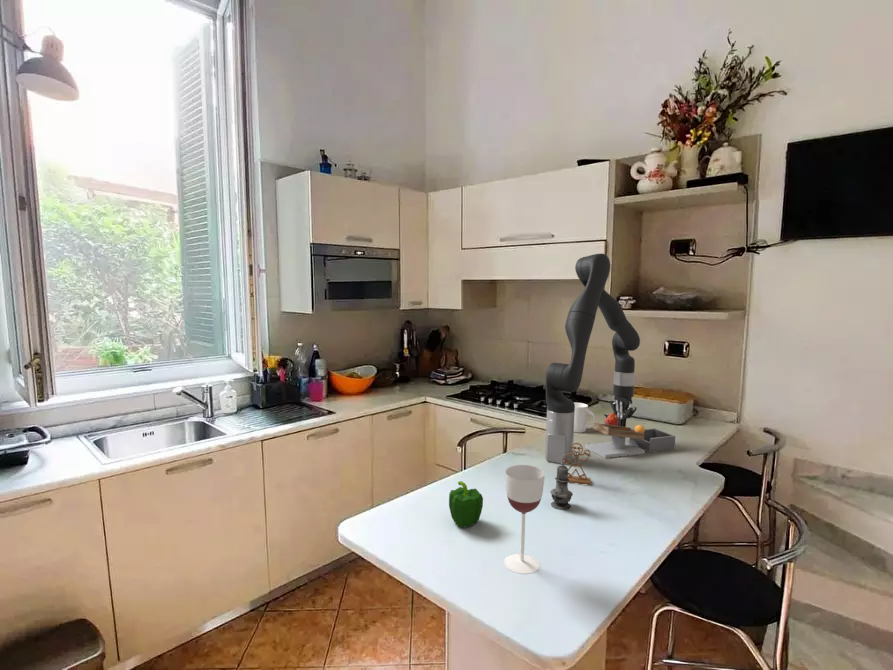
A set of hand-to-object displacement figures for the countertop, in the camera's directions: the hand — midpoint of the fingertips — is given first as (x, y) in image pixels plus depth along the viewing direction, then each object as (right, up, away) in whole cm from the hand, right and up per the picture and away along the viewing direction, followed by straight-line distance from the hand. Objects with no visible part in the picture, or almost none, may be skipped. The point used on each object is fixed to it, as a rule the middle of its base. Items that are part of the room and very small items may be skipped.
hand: (621, 427), depth 188 cm
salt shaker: (-36, -11, -56) cm, 67 cm away
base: (-6, -7, -9) cm, 13 cm away
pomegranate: (+3, -4, +17) cm, 18 cm away
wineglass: (-51, -13, -84) cm, 99 cm away
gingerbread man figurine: (-28, -9, -39) cm, 49 cm away
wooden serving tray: (-6, 0, -6) cm, 9 cm away
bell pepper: (-63, -11, -66) cm, 92 cm away
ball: (+4, 0, -7) cm, 8 cm away
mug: (-12, -4, +15) cm, 20 cm away
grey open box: (+10, -6, -4) cm, 12 cm away
